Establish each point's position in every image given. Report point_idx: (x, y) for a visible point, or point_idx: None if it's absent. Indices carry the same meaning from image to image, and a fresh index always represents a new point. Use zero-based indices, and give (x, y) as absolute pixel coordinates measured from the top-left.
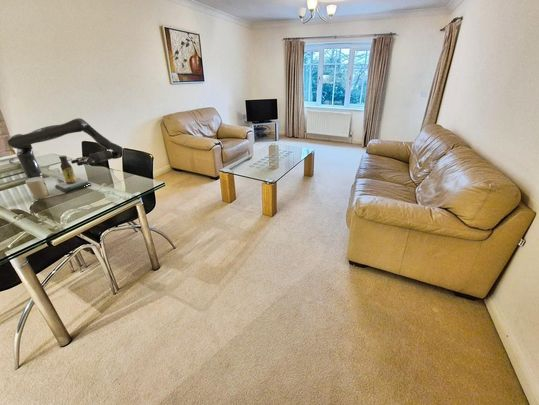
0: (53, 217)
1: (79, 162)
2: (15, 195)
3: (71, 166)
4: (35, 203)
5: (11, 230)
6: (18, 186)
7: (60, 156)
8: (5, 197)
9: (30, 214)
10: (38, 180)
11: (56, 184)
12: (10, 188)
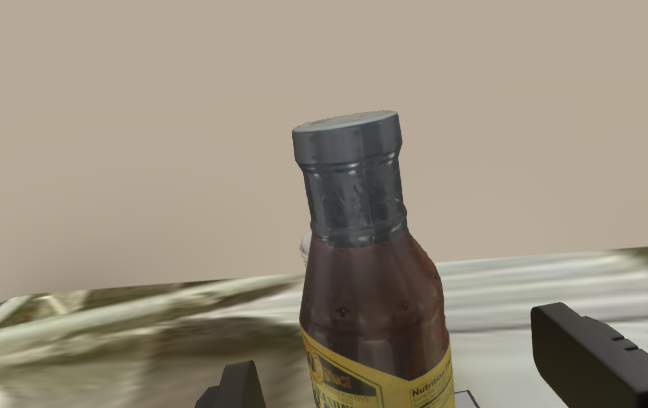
0: (34, 367)
1: (218, 398)
2: (479, 278)
3: (343, 348)
4: (275, 327)
5: (124, 293)
6: None
7: (339, 117)
8: (475, 261)
9: (174, 318)
10: (301, 243)
11: (462, 393)
12: (633, 258)
